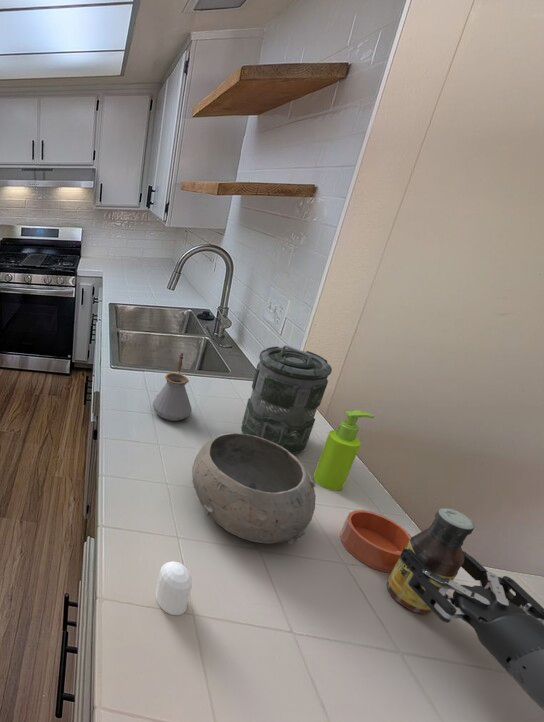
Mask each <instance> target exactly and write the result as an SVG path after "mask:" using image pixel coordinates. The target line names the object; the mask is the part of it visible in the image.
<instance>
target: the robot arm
mask: <svg viewBox="0 0 544 722" xmlns="http://www.w3.org/2000/svg"><path fill="white" fill-rule="evenodd" d="M462 551H463V552H464V557H465V558H464V563H463V565H462V566H461V567H460V568H462V570H464V571H465V572H466V573H467V574H468V575H469V576H470V577H472V579H473V580H474V581H476V582H477V581H479V585H472V586H471V585H466V584H459V583H458V582H455V581H454V580H453V581H452V580H450V579H448V578H445V579H444V578H442V577H440V576H438V575H436V574H435V573H433V572H431V571H430V570H428V569H429V568H428V567H427V566H426V565H425V564H424V563H423V562H422V561H421V560H420V559H419V557H418V556H417V555H416V554H415V553H414V552H413V551H412V550H411V549H403V551H402V553H401V560H402V562H403V563H404V564H405V565H406V566H407V567H408V568H409V569H410V570H411V572H412V573H413V576H412V578H411V579H410V581H409V582H408V585H409V586H410V587H411V588H412V589H413V590H414V591H415V592H416V593H417V595H418V596H419V597H420V598H421V599H422V600H423V601H424V602H425V603H426V604H427V605H428V606H429V607H430V609H431V611H432V612H433V613H434V614H435V615H436V617H437V618H438V619H440V620H441V621H442V622H444V623H447V624H448V623H450V622H451V621H452V620H453V619H461V620H463V621H464V622H465V623H467V624H468V625H469V626H470V627H471V628H473V630H474V632H475V634H476V636H477V639H478V641H479V643H480V644H481V645H482V646H483V647H484V648H485V649H486V650H487V652H488V653H489V654H490V655H491V656H492V657H493V659H495V660H496V661H497V662H498V663H499V664H500V666H501V667H502V668H503V669H504V670H505V672H506V673H508V675H509V676H510V677H511V678H512V679H513V680H514V681H515V682H516V684H518V685H519V686H520V687H521V689H522V690H523V691H524V692H525V693H526V694H527V695H528V696H529V697H530V699H531V700H532V701H533V702H534V703H535V704H536V705H537V706H538V707H540V709H542V711H544V607H543V606H542V605H541V604H540V603H539V602H538V601H537V600H535V598H533V597H532V596H531V594H529V592H527V591H526V590H525V589H524V588H523V587H522V586H521V585H519V584H518V582H516V580H514V579H513V578H511V577H510V576H507V575H503V576H498V575H497V574H495V573H494V572H491V571H489V570H488V569H487V568H485V567H484V566H483V565H482V564H481V563H479V561H477V560H476V558H474V557H473V556H471V555H470V554H468V552H466V551H464V550H462ZM430 580H433V581H434V582H436V583H438V584H439V585H440V586H441V587H437V586H436V585H434V584H432V583H431V582H429V581H430ZM422 586H423V587H424V588H425V590H424V589H423V588H422ZM449 590H451V591H452V590H453V593H452V597H451V596H450V595H448V593H447V592H448V591H449ZM511 590H512V592H511ZM513 592H514V594H513Z"/></svg>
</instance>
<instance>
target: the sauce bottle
mask: <svg viewBox="0 0 544 722" xmlns="http://www.w3.org/2000/svg"><path fill="white" fill-rule="evenodd" d="M474 529H475V523H474V522H473V520H472V519H471V518H469V517H468V516H467V515H465V514H464V513H462V512H460V511H457V510H456V509H453V508H446V507H444V508H439V509H438V510H437V511H436V513H435V515H434V520H433V521H432V523H431V525H430V526H429V527H428V528H425V529H423V530H422V531H420V532H419V533H416V534H415V535H413V536H411V539H410V540H409V542H408V544H407V546H406V547H405V549H411V550H412V551H413V552H414V553H415V554H416V555H417V556H418V557H419V559H420V560H421V561H422V562H423V563H424V564H425V565H426V566H427V567H428V568H429V569H428V570H430V571H431V572H433V573H435V574H436V575H438V576H440V577H442V578H444V579H445V578H448V579H450V580H452V581H454V580H455V579H456V577H457V576H458V574H459V570H460V569H461V568H462V567H461V566H462V565H463V563H464V558H465V557H464V552H465V551H464V550H463V548H462V546H463V545H464V542H465V540H466V538H467V537H468V536H470V535H472V533H473V531H474ZM463 551H464V552H463ZM389 574H390V575H389V576H388V581H387V582H386V588H387V590H388V592H389V594H390V596H391V597H392V598H393V599H394V601H396V602H397V603H399V604H400V605H402V606H403V607H404V608H405V609H408V610H410V611H412V612H414V613H418V614H423V615H426V614H428V613H430V612H431V611H432V610H431V609H430V607H429V606H428V605H427V604H426V603H425V602H424V601H423V600H422V599H421V598H420V597H419V596H418V595H417V593H416V592H415V591H414V590H413V589H412V588H411V587H410V586H409V585H408V582H409V581H410V579H411V578H412V576H413V573H412V572H411V570H410V569H409V568H408V567H407V566H406V565H405V564H404V563H403V562H402V560H401V556H400V558H399V560H398V561H397V563H396V565H395V567H394V569H393V571H392V572H391V573H389ZM429 582H431V583H432V584H434V585H436V586H437V587H441V586H440V585H439V584H438V583H436V582H434V581H433V580H430V581H429ZM422 588H423V589H424V590H425V588H424V587H423V586H422Z"/></svg>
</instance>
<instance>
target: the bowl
mask: <svg viewBox="0 0 544 722" xmlns="http://www.w3.org/2000/svg"><path fill="white" fill-rule="evenodd" d="M191 473H192V485H193V488H194V491H195V494H196V497H197V498H198V500H199V502H200V504H201V506H202V508H203V512H204V514H205V515H208V516H209V517H210V518H211V519H212V520H213V521H214V522H215V523H216V524H218V525H219V526H220V527H221V528H222V529H224V530H225V531H226V532H228V533H230V534H232V535H234V536H236V537H238V538H241V539H243V540H247V541H249V542H253V543H260V544H276V543H277V544H278V543H282V542H287V543H288V544H295V543H296V542H297V541H298V540H299V539H301V538H303V537H304V536H305V534H306V531H305V530H306V529H307V527H308V525H309V524H310V523H311V521H312V519H313V517H314V513H315V510H316V491H315V488H316V484H315V483H316V482H315V480H314V478H311V477H310V474H309V472H308V470H307V469H306V467H305V466H304V464H303V463H302V462H301V461H300V459H298V458H297V457H296V455H293V454H291V453H290V452H289V451H288V450H286V449H285V448H283V447H282V446H280V445H277V444H275V443H273V442H271V441H269V440H266V439H263V438H260V437H257V436H253V435H249V434H243V433H240V432H228V433H222V434H218V435H216V436H213V437H211V438H210V439H208V440H207V441H206V442H205V443H204V444H203V445H202V446H201V448H200V449H199V451H198V453H197V454H196V456H195V458H194V461H193V464H192V470H191Z"/></svg>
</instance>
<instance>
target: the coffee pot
mask: <svg viewBox="0 0 544 722" xmlns="http://www.w3.org/2000/svg"><path fill="white" fill-rule="evenodd" d="M178 355H179V356H178V358H179V360H178V361H177V367H176V372H170V373H167V374H166V375H165V376H164V379H165V380H166V382H165V384H164V386H163V387H162V388H161V390H159V392H158V394H157V395H156V397H155V398H154V399H153V401H152V407H153V410H154V411H155V412H156V413H157V414H158V415H159V417H161V418H162V419H164V420H165V421H166V420H167V421H171V422H178V421H181V420H184V419H186V418H188V417H190V415H191V413H192V405H191V401H190V399H189V396H188V392H187V389H186V385H187V384H188V383H189V381H190V380H189V378H188V377H187V376H185V375H183V374H180V371H181V369H182V365H183V359H184V357H186V356H187V355H186V354H185V353H184V352H180V353H178Z"/></svg>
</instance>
